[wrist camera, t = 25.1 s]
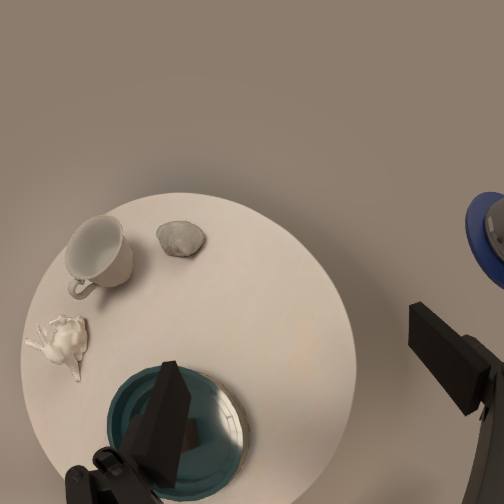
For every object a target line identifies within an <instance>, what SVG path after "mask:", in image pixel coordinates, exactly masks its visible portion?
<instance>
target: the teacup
mask: <svg viewBox="0 0 504 504" xmlns="http://www.w3.org/2000/svg"><path fill="white" fill-rule="evenodd" d="M133 261H134V258H133V252H132V249H131V247H130V245H129V244H128V242H127V240H126V239H125V237H124V236H123V231H122V226H121V224H120V222H119V221H118V220H117V219H116V218H115V217H113V216H110V215H99V216H95V217H93V218H91V219H89V220H88V221H86V222H84V223H83V224H82V225H81V226H80V227H79V228H78V229H77V230H76V231H75V232H74V234H73V236H72V237H71V239H70V241H69V243H68V246H67V249H66V255H65V263H66V267H67V270H68V272H69V273H70V274H71V275H72V276H73V277H75V278H77V279H79V280H77V279H73V280H72V281H71V282H70V283H69V286H68V291H69V293H70V295H71V296H72V297H73V298H75V299H79V300H81V299H84V298H86V297H87V296H88V295H89V294H90V293H91V292H92V291H93V290H94V289H95V288H97V287H100V286H103V287H114V286H116V285H121V284H123V283H125V282H126V281H127V280H128V279H129V278H130V276H131V275H132V272H133ZM86 279H87V280H89V281H91V282H93V283H92V284H90V285H88V286H87V287H86V288H85V289H84V290H83V291H82V292H81V293H78V294H76V292H75V289H76V286H77V285H78V284H82V285H83V284H84V282H85V280H86Z"/></svg>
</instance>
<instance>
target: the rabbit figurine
mask: <svg viewBox="0 0 504 504" xmlns="http://www.w3.org/2000/svg"><path fill="white" fill-rule="evenodd" d="M52 324H54V325H58V324H59V326H58V328H57V329H56V330H55V332H54V336H53V340H52V341H51V344H50V343H49V342H48V339H47V335H46V331H45V329H44V327H43V326H42V325H41V324H38V323H37V324H36V327H37V330H38V332H39V335H40V338H41V340H42V342H43V344H44V346H42V345H40V344H38V343H36V342H33V341H31V340H30V339H28V338H27V339H26V340H25V341H26V344H27V345H28V346H30V347H32V348H35V349H37V350H40V351H42V352H43V353H44V355H45V357H46V359H48V360H50V361H51V362H53V363H56V364H58V365H61V364H62V363H66V364H67V366H68V367H69V368H70V369H71V371H72V372H73V373H74V374H73V375H75V382H76V380H77V382H78V380H79V382H80V372H79V368H78V363H77V361H81V360H82V358H83V353H84V352H85V351H86V350H87V339H88V335H87V332H86V330H85V322H84V319H83V318H82V317H81V316H79V315H77V316H76V317H75V319H74V318H68V319H66V316H65V315H59V316H58V318H57V319H55V320H53V321H51V322H50V325H52Z"/></svg>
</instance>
